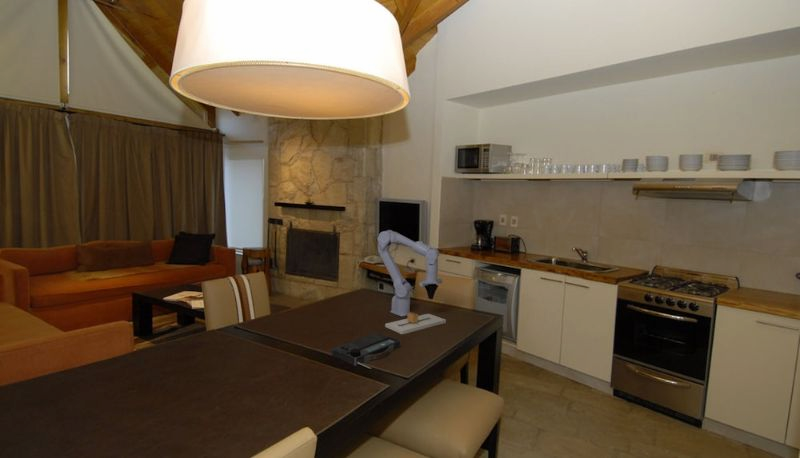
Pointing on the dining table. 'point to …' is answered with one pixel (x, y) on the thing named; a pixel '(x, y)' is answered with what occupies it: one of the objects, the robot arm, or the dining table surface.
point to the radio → (366, 349)
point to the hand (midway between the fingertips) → (430, 298)
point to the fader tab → (412, 317)
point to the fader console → (415, 324)
